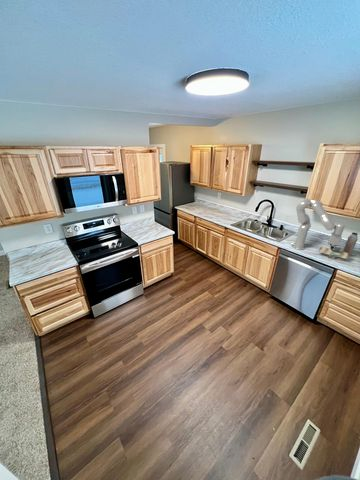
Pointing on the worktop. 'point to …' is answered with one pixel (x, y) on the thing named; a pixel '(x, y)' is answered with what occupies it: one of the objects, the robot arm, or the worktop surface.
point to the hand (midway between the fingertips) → (331, 249)
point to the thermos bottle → (350, 244)
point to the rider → (336, 249)
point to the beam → (333, 253)
